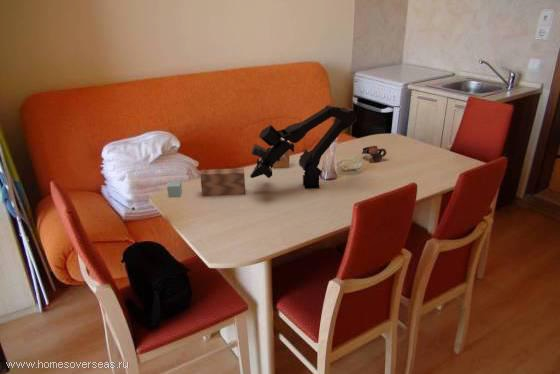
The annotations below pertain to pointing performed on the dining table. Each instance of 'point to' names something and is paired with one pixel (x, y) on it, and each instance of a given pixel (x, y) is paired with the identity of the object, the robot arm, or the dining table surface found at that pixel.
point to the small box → (282, 160)
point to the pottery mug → (374, 153)
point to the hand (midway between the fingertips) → (250, 177)
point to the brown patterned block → (222, 182)
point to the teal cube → (174, 189)
